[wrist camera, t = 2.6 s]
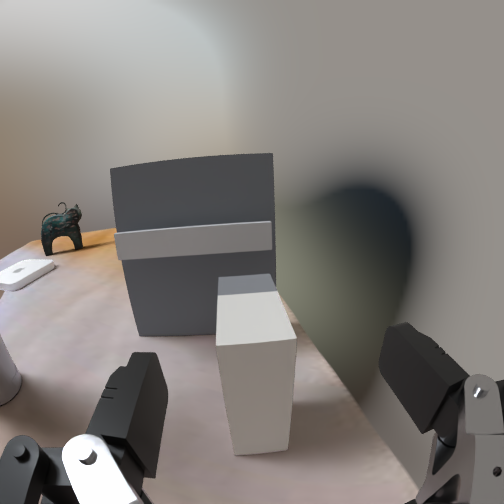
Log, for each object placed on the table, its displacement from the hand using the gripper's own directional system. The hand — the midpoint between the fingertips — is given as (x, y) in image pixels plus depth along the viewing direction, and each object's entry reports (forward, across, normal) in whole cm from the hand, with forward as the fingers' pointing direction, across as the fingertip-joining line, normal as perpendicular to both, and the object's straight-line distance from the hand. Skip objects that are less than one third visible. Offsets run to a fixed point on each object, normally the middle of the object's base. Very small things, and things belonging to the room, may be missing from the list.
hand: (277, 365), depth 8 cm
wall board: (+29, +6, +18) cm, 34 cm away
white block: (+12, 0, +18) cm, 22 cm away
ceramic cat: (+88, +70, +17) cm, 114 cm away
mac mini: (+60, +74, +18) cm, 97 cm away
